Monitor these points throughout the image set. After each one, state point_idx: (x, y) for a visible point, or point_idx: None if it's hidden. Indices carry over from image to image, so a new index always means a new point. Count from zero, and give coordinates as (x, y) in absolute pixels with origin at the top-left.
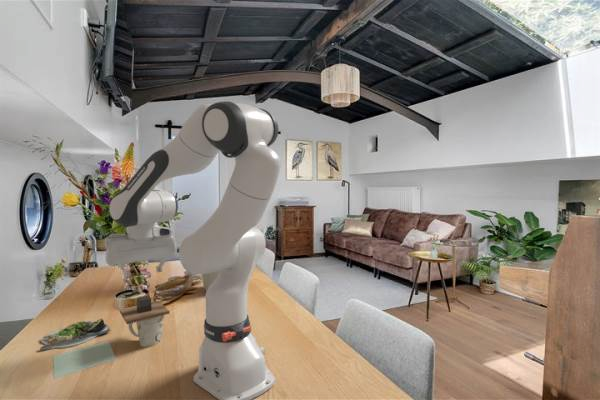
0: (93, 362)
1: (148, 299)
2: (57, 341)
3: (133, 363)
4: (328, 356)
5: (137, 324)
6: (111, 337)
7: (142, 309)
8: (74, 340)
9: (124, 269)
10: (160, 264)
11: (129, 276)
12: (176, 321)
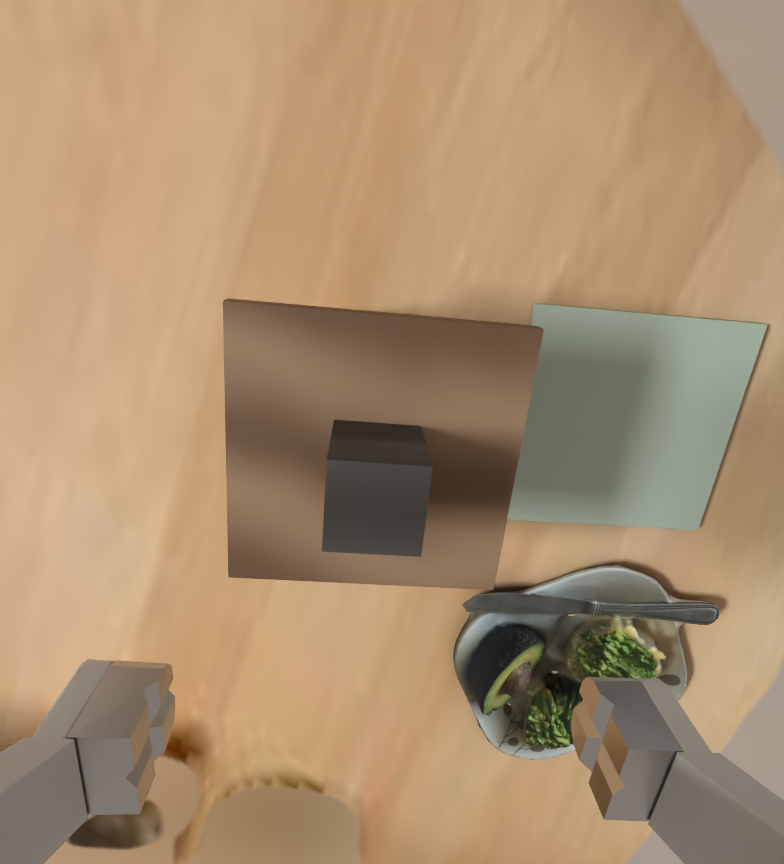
0: (616, 351)
1: (352, 458)
2: (654, 635)
3: (485, 215)
4: None
5: None
6: None
7: (401, 433)
8: (608, 599)
9: (761, 810)
10: (34, 815)
11: (603, 679)
12: (161, 523)
